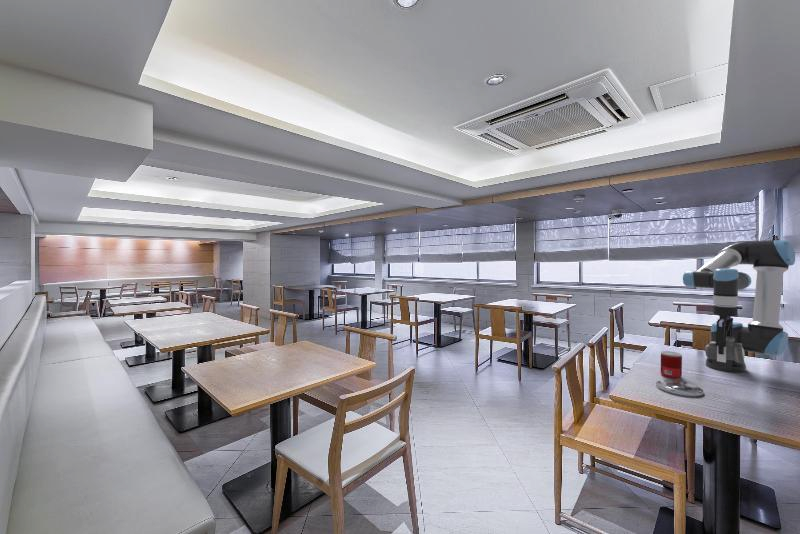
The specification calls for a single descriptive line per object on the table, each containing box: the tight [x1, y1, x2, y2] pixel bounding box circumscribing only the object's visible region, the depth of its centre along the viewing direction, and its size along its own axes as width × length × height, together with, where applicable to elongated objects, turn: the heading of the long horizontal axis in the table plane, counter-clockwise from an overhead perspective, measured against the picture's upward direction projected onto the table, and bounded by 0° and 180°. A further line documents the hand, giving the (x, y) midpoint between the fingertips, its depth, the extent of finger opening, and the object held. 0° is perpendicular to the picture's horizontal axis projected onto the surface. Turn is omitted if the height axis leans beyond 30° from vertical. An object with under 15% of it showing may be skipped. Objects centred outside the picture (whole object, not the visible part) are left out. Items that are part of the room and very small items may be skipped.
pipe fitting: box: [704, 336, 746, 363], centre depth 146 cm, size 12×8×10 cm
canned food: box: [660, 350, 683, 380], centre depth 167 cm, size 8×8×11 cm
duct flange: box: [655, 379, 704, 398], centre depth 151 cm, size 16×16×2 cm
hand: (724, 359), depth 147 cm, fingers closed on pipe fitting, 8 cm apart
